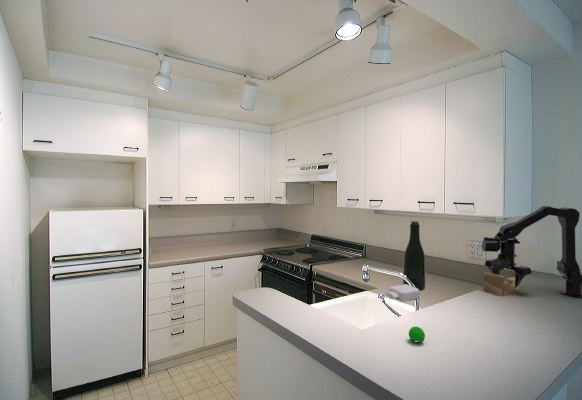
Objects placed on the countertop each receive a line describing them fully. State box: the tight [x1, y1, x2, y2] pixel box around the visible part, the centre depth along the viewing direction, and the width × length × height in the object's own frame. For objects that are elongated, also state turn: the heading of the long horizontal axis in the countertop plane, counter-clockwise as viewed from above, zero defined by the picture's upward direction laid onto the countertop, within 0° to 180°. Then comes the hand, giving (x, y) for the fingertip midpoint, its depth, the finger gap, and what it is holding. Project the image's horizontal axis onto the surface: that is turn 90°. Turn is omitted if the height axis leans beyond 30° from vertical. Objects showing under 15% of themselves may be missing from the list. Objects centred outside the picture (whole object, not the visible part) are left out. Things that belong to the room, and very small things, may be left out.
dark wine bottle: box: [402, 220, 427, 292], centre depth 160 cm, size 10×10×33 cm
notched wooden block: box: [483, 271, 511, 297], centre depth 153 cm, size 6×9×9 cm
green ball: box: [408, 326, 426, 342], centre depth 107 cm, size 5×5×5 cm
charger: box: [383, 284, 420, 303], centre depth 147 cm, size 5×9×15 cm
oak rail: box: [504, 276, 520, 292], centre depth 156 cm, size 14×4×5 cm, turn 114°
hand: (506, 284), depth 156 cm, fingers open, 9 cm apart
